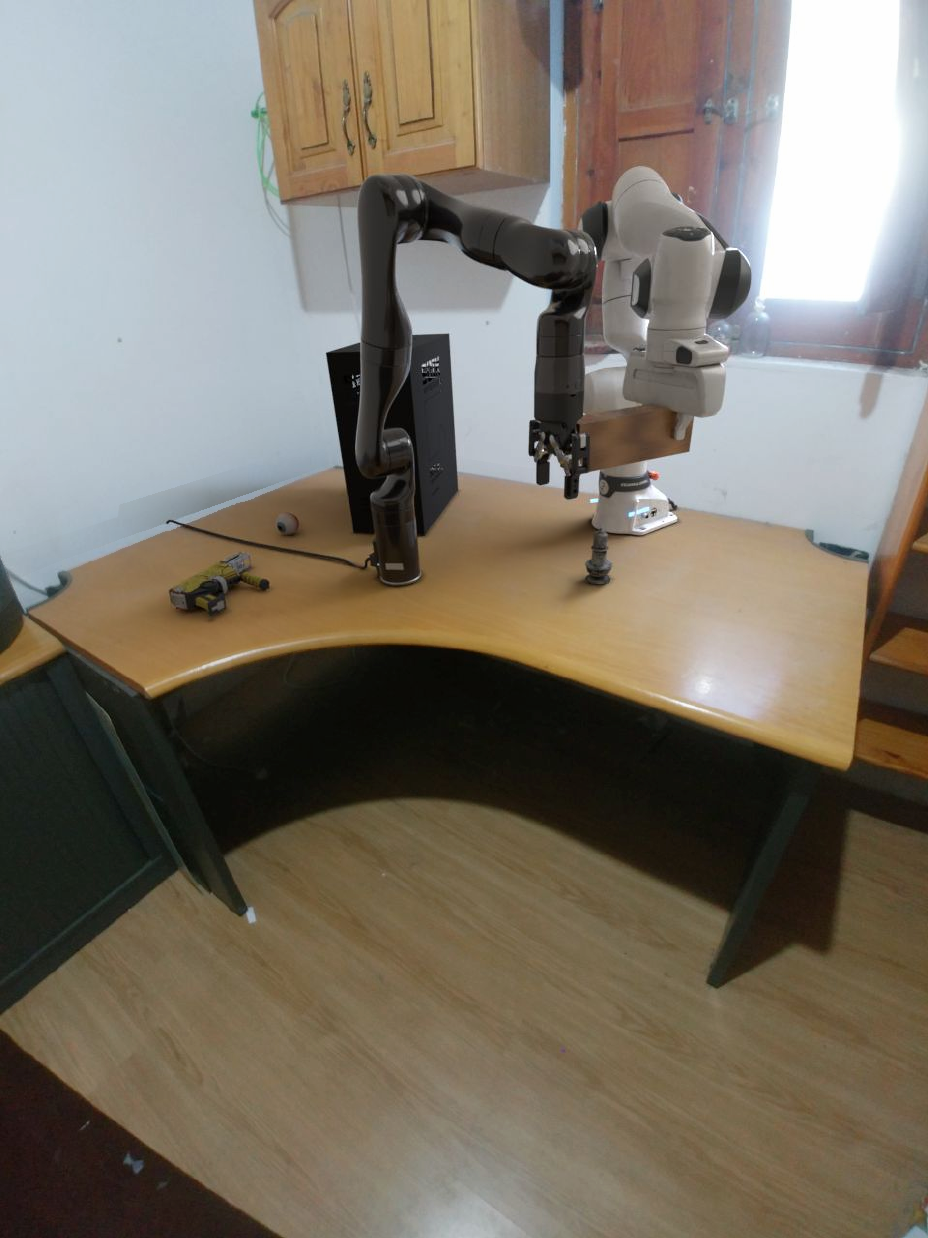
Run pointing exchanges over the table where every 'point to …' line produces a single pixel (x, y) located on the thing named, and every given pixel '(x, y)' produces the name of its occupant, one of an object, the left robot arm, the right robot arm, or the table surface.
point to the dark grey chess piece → (599, 560)
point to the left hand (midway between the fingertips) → (556, 491)
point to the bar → (631, 436)
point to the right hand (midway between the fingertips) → (664, 435)
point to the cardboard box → (418, 413)
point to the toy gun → (214, 585)
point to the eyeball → (287, 523)
